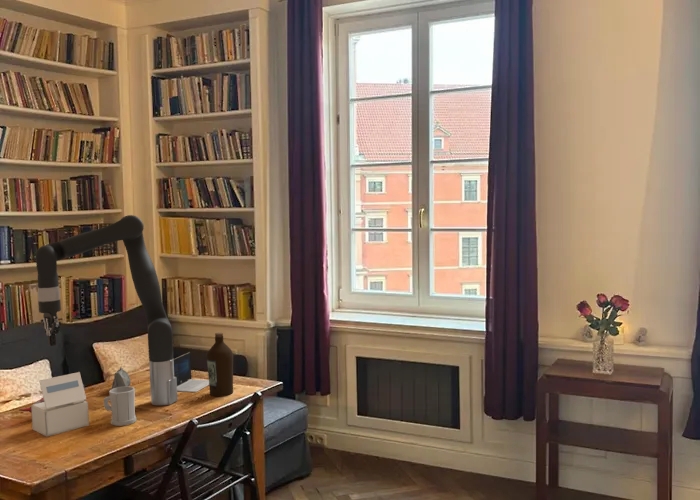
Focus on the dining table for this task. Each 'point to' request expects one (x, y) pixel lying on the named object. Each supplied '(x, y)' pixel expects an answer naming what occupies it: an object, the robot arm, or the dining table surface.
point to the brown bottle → (220, 368)
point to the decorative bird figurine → (32, 405)
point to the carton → (59, 417)
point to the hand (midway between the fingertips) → (52, 345)
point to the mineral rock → (121, 379)
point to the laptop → (186, 375)
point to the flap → (62, 390)
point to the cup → (121, 405)
